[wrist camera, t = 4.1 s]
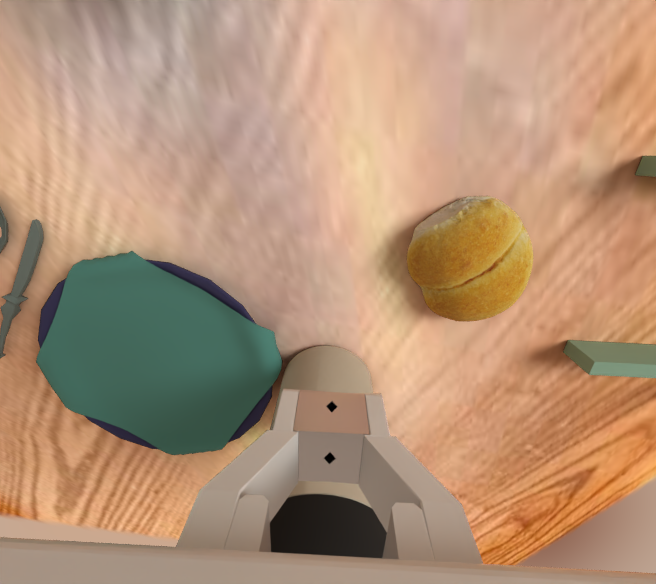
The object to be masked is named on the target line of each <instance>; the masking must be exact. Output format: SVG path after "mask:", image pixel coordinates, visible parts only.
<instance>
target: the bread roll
mask: <svg viewBox="0 0 656 584" xmlns="http://www.w3.org/2000/svg"><path fill="white" fill-rule="evenodd" d="M532 264H533V250H532V244H531V240H530V238H529V236H528V233H527V231H526V229H525V228H524V226H523V224H522V222H521V220H520V218H519V217H518V215H517V214H516V213H515V212H514V211H513V210H512V209H511V208H509V207H508V206H507V205H506V204H505V203H503V202H502V201H500V200H498V199H496V198H493V197H490V196H474V197H465V198H462V199H460V200H458V201H456V202H454V203H452V204H450V205H447V206H445V207H443V208H442V209H440V210H438V211H437V212H436V213H434V214H432V215H431V216H430V217H428V218H427V219H425V220H424V221H422V222H421V223H420V224H418V226H417V227H416V228H415V230H414V233H413V237H412V241H411V243H410V245H409V248H408V252H407V265H408V271H409V274H410V275H411V277H412V279H413V280H414V281H415V282H416V283H417V284H419V285H420V287H421V289H422V292H423V296H424V299H425V302H426V304H427V306H428V307H429V308H430V309H431V310H432V311H433V312H434V313H436V314H438V315H440V316H442V317H445V318H448V319H451V320H455V321H477V320H483V319H487V318H490V317H493V316H495V315H497V314H499V313H501V312H503V311H505V310H506V309H508V308H509V307H511V306H512V305H513V304H514V303H515V302H516V301H517V299H518V298H519V297H520V296H521V294H522V293H523V291H524V289H525V287H526V285H527V283H528V280H529V277H530V274H531V270H532Z"/></svg>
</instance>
